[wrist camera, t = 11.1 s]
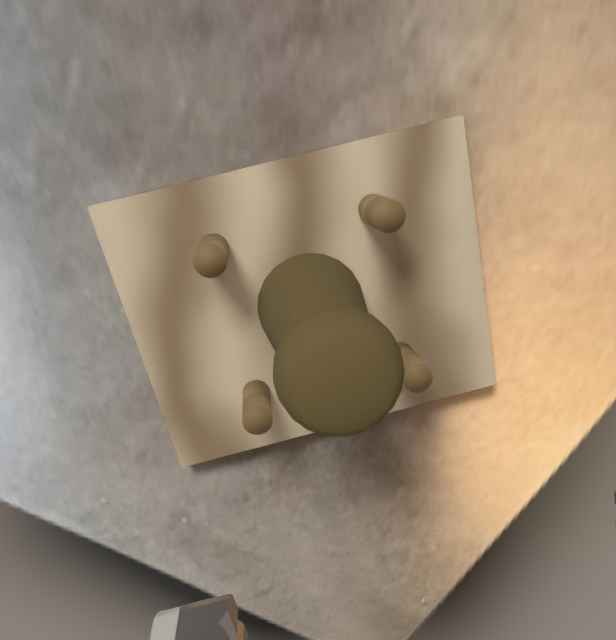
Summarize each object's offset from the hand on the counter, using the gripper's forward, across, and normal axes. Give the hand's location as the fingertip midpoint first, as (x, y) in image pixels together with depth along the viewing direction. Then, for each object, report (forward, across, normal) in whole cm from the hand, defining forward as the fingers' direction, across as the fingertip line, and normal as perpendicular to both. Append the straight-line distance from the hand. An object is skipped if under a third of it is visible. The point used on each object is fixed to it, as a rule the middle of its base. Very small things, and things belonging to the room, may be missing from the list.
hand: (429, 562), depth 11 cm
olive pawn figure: (+20, 0, 0) cm, 20 cm away
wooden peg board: (+21, 0, 0) cm, 21 cm away
